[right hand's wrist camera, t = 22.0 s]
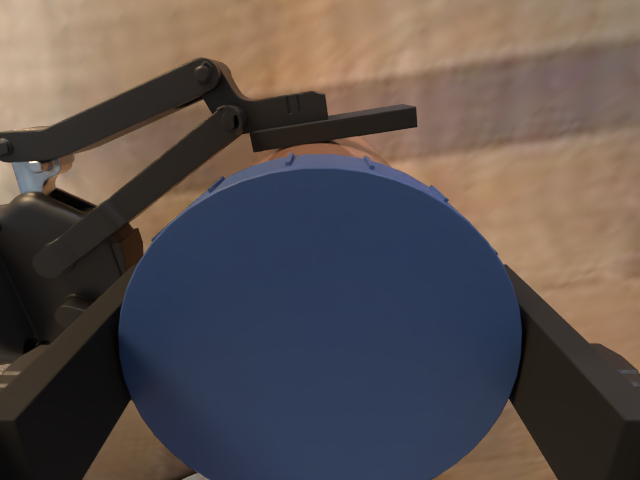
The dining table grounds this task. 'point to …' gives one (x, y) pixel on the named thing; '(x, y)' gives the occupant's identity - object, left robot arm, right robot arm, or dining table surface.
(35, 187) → the left robot arm
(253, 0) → the dining table surface
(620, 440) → the right robot arm
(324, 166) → the lid
